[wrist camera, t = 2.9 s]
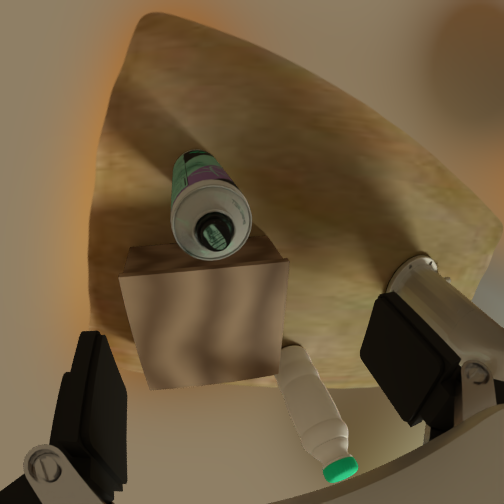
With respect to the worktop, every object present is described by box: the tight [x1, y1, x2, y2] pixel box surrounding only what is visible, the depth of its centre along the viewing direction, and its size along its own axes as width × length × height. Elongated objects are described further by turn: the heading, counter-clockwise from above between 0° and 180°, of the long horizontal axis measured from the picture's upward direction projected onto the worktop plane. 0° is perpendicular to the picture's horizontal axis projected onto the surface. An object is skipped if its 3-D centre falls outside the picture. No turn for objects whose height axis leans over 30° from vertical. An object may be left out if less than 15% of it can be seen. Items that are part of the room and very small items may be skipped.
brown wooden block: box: [118, 236, 290, 390], centre depth 40 cm, size 19×19×8 cm
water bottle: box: [274, 346, 358, 483], centre depth 42 cm, size 7×7×25 cm
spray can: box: [170, 149, 252, 261], centre depth 26 cm, size 6×6×20 cm
